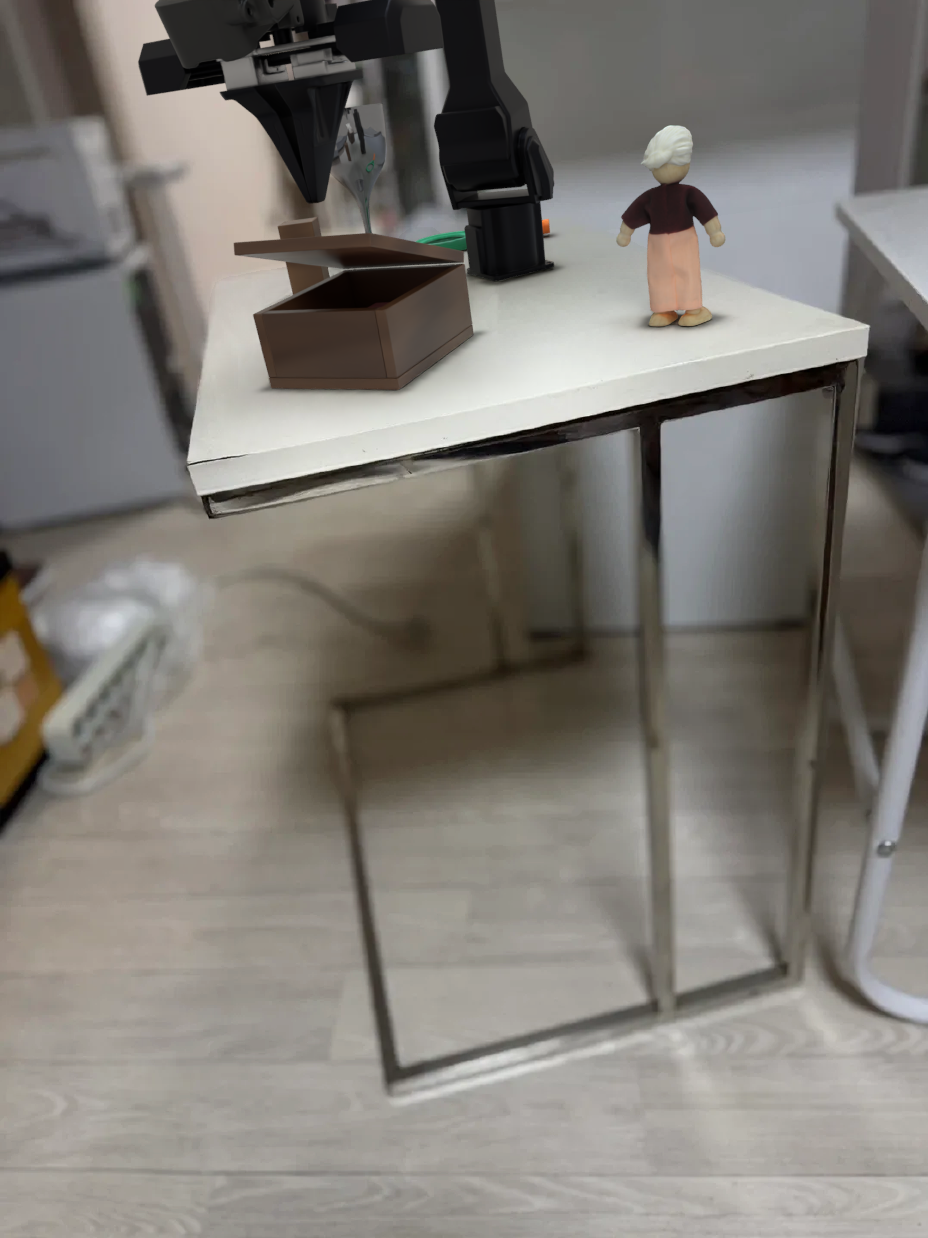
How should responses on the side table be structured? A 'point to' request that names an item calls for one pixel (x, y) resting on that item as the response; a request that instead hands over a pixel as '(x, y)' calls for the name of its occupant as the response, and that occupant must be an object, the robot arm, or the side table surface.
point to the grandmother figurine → (672, 230)
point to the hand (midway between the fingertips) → (316, 202)
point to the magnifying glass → (461, 238)
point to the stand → (297, 272)
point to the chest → (366, 328)
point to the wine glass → (360, 153)
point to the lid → (349, 251)
